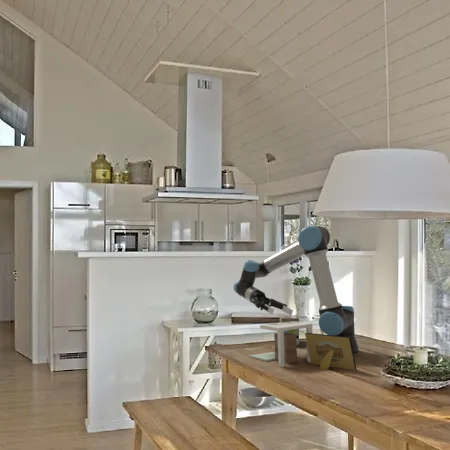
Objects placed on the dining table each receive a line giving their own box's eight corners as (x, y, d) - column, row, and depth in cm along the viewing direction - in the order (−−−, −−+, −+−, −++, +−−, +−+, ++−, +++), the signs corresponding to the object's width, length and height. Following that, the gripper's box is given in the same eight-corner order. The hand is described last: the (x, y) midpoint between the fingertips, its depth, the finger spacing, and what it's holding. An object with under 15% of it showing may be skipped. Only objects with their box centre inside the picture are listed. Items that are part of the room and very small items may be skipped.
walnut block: (275, 360, 291) (274, 333, 291) (285, 359, 294) (284, 332, 294) (287, 363, 283) (286, 335, 283) (297, 362, 286) (296, 334, 287)
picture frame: (356, 369, 267) (353, 335, 266) (345, 375, 261) (342, 340, 260) (312, 363, 283) (309, 331, 282) (301, 368, 276) (298, 336, 275)
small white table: (261, 362, 288) (260, 325, 289) (294, 356, 299) (293, 320, 299) (280, 367, 276) (279, 328, 276) (314, 361, 287) (313, 324, 287)
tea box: (300, 345, 331) (299, 317, 332) (281, 345, 331) (280, 318, 332) (297, 340, 346) (296, 314, 347) (279, 340, 347) (278, 314, 347)
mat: (249, 357, 302) (249, 355, 302) (272, 353, 309) (272, 351, 309) (266, 361, 290) (266, 359, 290) (289, 357, 297) (289, 356, 297)
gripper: (270, 304, 321) (297, 320, 304) (235, 301, 307) (261, 318, 290) (274, 291, 320) (302, 306, 303) (239, 287, 306) (266, 303, 289)
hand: (282, 312), depth 296 cm, fingers open, 12 cm apart
